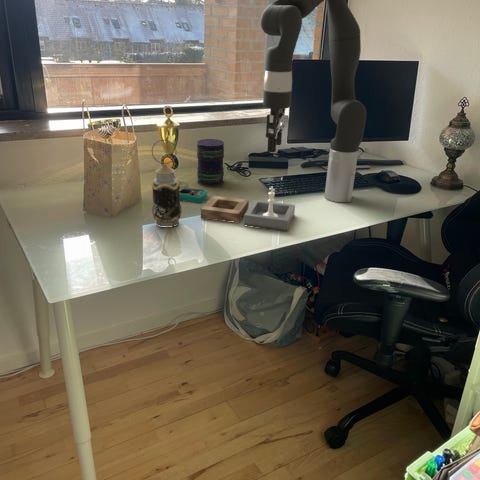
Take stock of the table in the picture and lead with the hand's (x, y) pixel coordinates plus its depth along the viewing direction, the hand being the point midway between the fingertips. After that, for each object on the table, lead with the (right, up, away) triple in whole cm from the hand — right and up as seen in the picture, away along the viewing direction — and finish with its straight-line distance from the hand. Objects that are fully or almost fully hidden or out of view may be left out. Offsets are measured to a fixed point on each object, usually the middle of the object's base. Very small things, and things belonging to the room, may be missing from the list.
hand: (274, 148), depth 130 cm
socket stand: (-14, -18, +14) cm, 27 cm away
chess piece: (-1, -19, +10) cm, 22 cm away
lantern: (-31, -21, +6) cm, 38 cm away
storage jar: (-21, -5, +41) cm, 46 cm away
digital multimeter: (-29, -12, +26) cm, 41 cm away
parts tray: (-1, -20, +10) cm, 22 cm away
